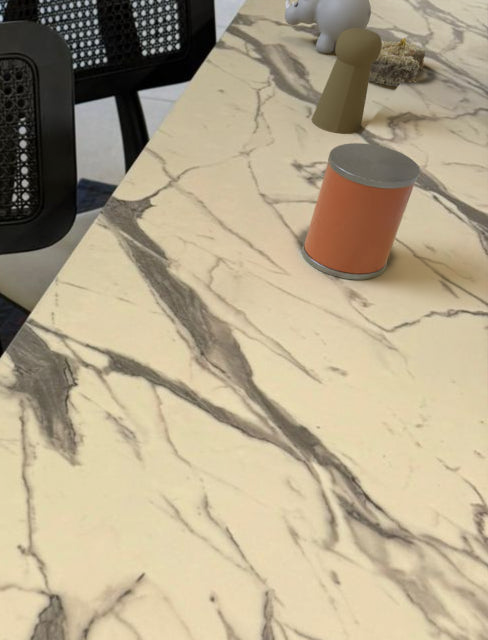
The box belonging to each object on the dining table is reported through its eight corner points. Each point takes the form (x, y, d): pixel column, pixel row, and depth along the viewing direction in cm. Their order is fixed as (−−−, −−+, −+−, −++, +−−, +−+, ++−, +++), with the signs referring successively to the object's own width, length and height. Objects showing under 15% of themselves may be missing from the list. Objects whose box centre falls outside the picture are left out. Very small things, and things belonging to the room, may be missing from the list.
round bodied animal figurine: (285, 30, 151) (300, -32, 146) (365, 49, 148) (383, -14, 142) (270, 43, 147) (285, -20, 141) (352, 63, 143) (371, -1, 137)
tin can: (394, 253, 102) (428, 158, 96) (373, 289, 97) (408, 191, 90) (315, 229, 105) (343, 135, 98) (290, 262, 99) (318, 165, 93)
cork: (320, 109, 129) (345, 18, 122) (366, 122, 127) (395, 30, 120) (304, 124, 125) (329, 31, 118) (352, 137, 123) (381, 44, 116)
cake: (351, 86, 138) (360, 45, 134) (357, 63, 145) (365, 23, 141) (429, 94, 135) (440, 52, 132) (431, 71, 142) (441, 30, 139)
